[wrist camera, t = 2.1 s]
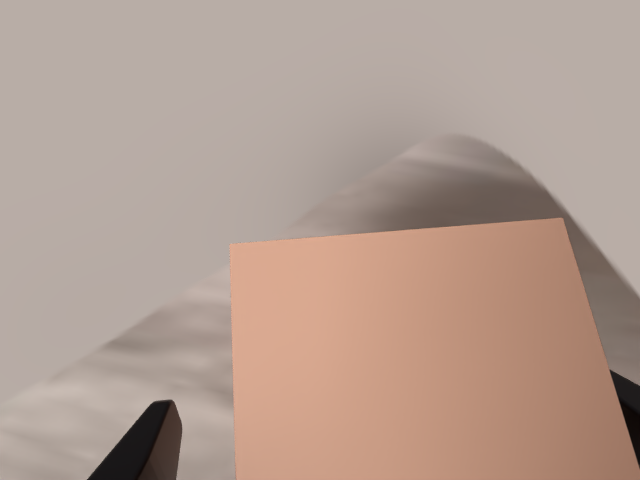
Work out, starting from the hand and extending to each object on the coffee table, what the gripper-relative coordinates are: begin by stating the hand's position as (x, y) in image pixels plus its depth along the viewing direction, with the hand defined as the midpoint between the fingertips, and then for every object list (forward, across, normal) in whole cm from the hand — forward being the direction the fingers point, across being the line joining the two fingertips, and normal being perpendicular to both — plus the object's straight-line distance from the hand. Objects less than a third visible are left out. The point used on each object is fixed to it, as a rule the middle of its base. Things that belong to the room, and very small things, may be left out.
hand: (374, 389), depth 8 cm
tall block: (+6, 0, +6) cm, 8 cm away
